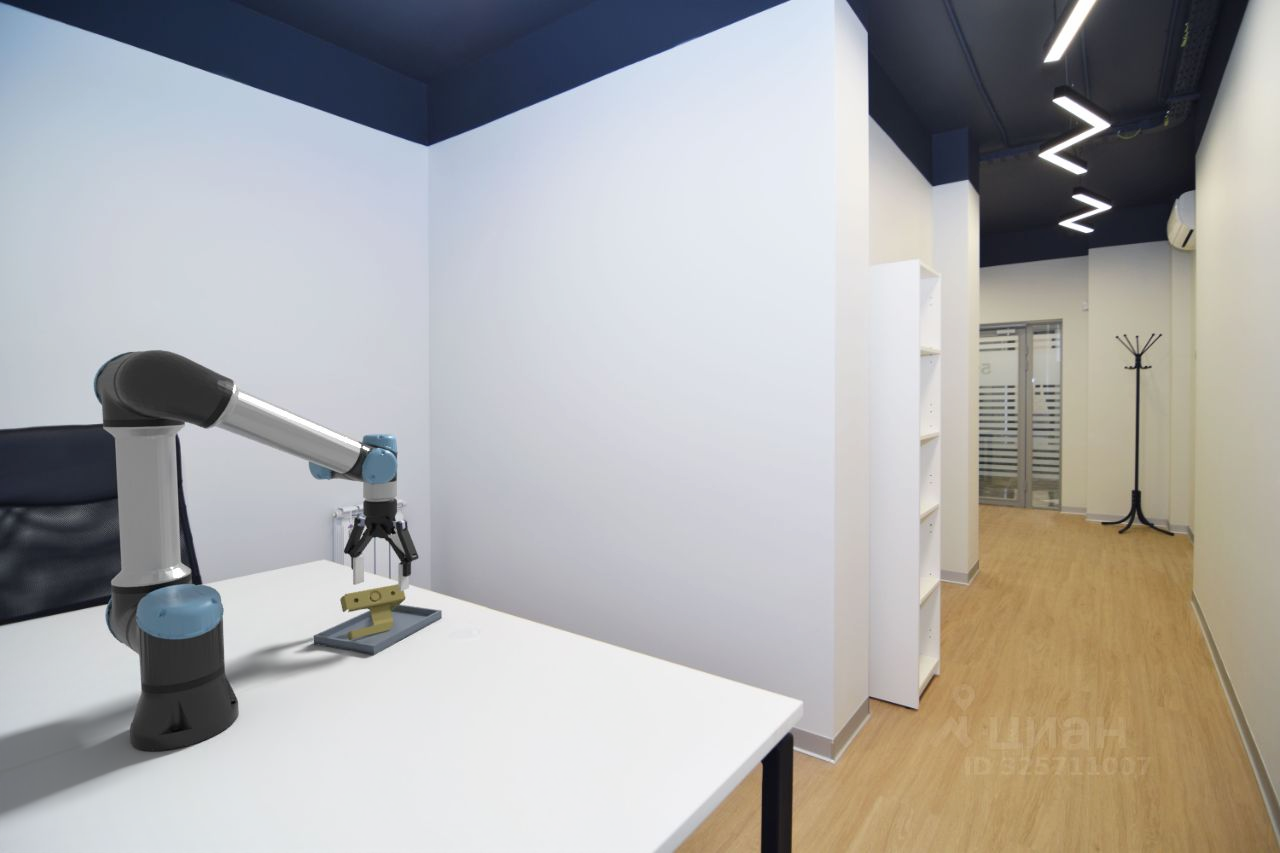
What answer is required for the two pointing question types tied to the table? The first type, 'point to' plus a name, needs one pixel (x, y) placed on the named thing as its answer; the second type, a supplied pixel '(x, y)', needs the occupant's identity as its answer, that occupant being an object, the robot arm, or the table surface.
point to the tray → (403, 626)
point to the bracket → (374, 607)
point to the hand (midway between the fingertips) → (380, 586)
